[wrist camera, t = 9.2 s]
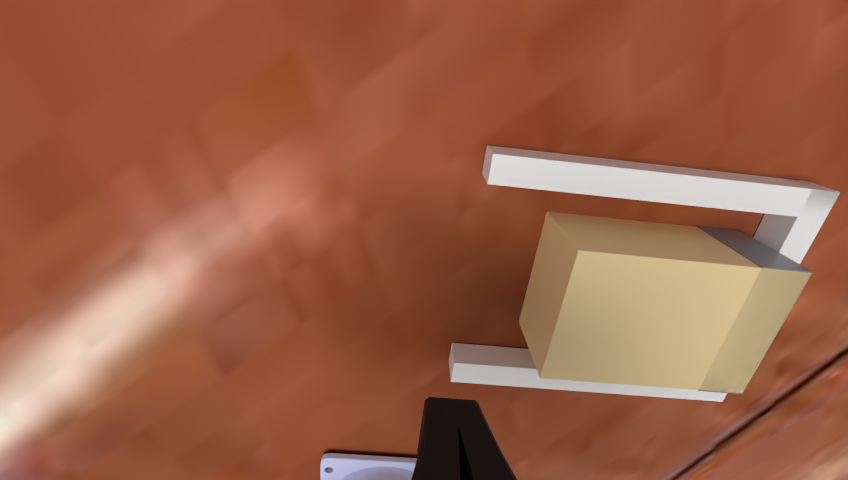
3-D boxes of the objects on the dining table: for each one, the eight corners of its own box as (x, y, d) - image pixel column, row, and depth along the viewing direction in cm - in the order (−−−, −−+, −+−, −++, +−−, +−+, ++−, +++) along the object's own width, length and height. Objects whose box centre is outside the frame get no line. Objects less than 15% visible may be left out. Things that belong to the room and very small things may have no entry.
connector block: (686, 336, 22) (741, 394, 18) (518, 321, 21) (539, 378, 17) (736, 229, 19) (812, 271, 15) (546, 209, 18) (578, 249, 15)
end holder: (704, 380, 23) (722, 401, 21) (448, 360, 22) (450, 381, 20) (808, 181, 18) (840, 192, 17) (487, 145, 17) (493, 153, 16)
